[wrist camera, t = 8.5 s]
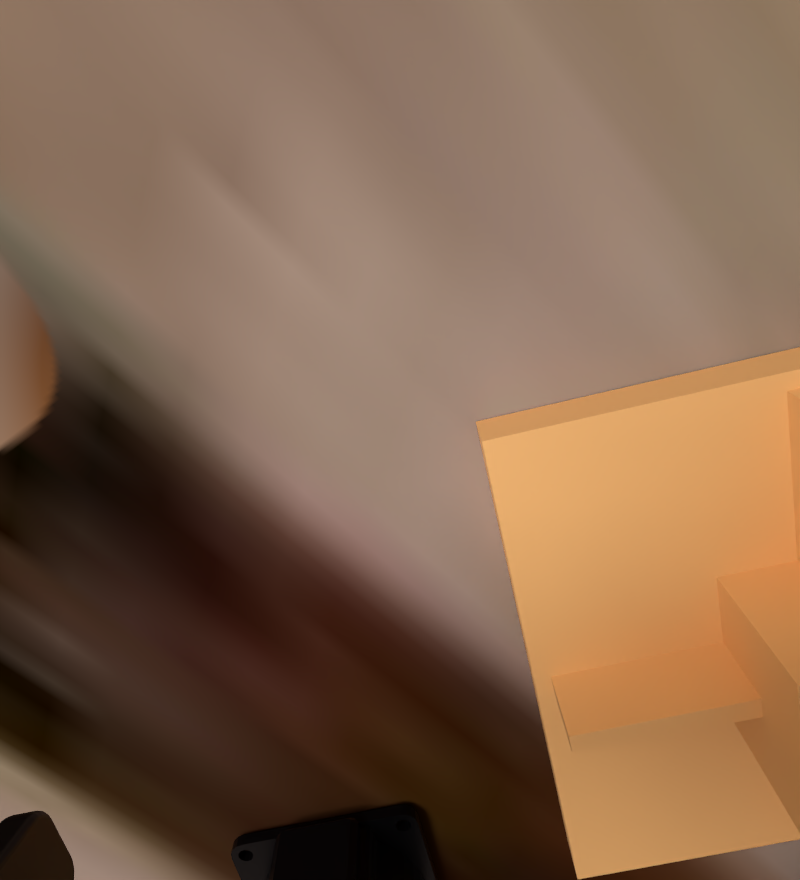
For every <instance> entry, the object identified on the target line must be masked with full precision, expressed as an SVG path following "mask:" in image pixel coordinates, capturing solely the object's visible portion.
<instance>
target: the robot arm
mask: <svg viewBox="0 0 800 880" xmlns="http://www.w3.org/2000/svg"><path fill="white" fill-rule="evenodd" d="M400 820H407V821H400ZM246 850H248V851H246ZM231 856H232V860H233V862H234V864H235V867H236V869H237V871H238V873H239V876H240V878H241V880H438V877H437V874H436V871H435V868H434V864H433V861H432V858H431V855H430V852H429V848H428V845H427V842H426V839H425V835H424V832H423V829H422V826H421V823H420V819H419V816H418V813H417V811H416V810H415V809H414V808H413V807H411V806H408V805H397V806H392V807H387V808H381V809H376V810H371V811H366V812H361V813H355V814H350V815H345V816H340V817H335V818H329V819H324V820H319V821H314V822H309V823H303V824H298V825H293V826H288V827H283V828H277V829H272V830H267V831H262V832H257V833H251V834H246V835H242V836H239V837H238V838H237V839H236V840H235V841H234V844H233V848H232V852H231ZM0 880H74V866H73V861H72V858H71V856H70V854H69V852H68V850H67V848H66V846H65V844H64V842H63V840H62V839H61V837H60V835H59V833H58V831H57V829H56V827H55V825H54V823H53V821H52V819H51V818H50V816H49V815H48V814H46V813H45V812H43V811H33V812H28V813H23V814H17V815H13V816H10V817H8V818H6V819H4V820H3V821H2V822H1V823H0Z"/></svg>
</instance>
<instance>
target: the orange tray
mask: <svg viewBox="0 0 800 880" xmlns="http://www.w3.org/2000/svg"><path fill="white" fill-rule="evenodd" d="M476 425H477V430H478V434H479V439H480V443H481V448H482V452H483V457H484V461H485V466H486V471H487V475H488V480H489V484H490V489H491V493H492V498H493V502H494V507H495V512H496V516H497V521H498V525H499V530H500V534H501V539H502V543H503V548H504V553H505V557H506V562H507V566H508V571H509V575H510V580H511V584H512V589H513V593H514V598H515V603H516V607H517V612H518V616H519V621H520V625H521V630H522V634H523V639H524V644H525V648H526V653H527V657H528V662H529V666H530V671H531V675H532V680H533V685H534V689H535V694H536V698H537V703H538V707H539V712H540V716H541V721H542V725H543V730H544V735H545V739H546V744H547V748H548V753H549V757H550V762H551V766H552V771H553V776H554V780H555V785H556V789H557V794H558V798H559V803H560V807H561V812H562V817H563V821H564V826H565V830H566V835H567V839H568V843H569V847H570V851H571V855H572V859H573V863H574V867H575V871H576V875H577V879H583V878H589V877H594V876H600V875H605V874H611V873H616V872H622V871H627V870H633V869H638V868H644V867H649V866H655V865H660V864H666V863H671V862H677V861H682V860H688V859H693V858H699V857H705V856H710V855H716V854H721V853H727V852H732V851H738V850H743V849H749V848H754V847H760V846H765V845H771V844H776V843H782V842H787V841H793V840H798V839H800V347H798V348H794V349H789V350H785V351H781V352H776V353H772V354H768V355H763V356H759V357H755V358H750V359H746V360H742V361H737V362H733V363H729V364H724V365H720V366H716V367H711V368H707V369H703V370H698V371H694V372H690V373H685V374H681V375H677V376H672V377H668V378H663V379H659V380H655V381H650V382H646V383H642V384H637V385H633V386H629V387H624V388H620V389H616V390H611V391H607V392H603V393H598V394H594V395H590V396H585V397H581V398H577V399H572V400H568V401H564V402H559V403H555V404H551V405H546V406H542V407H537V408H533V409H529V410H524V411H520V412H516V413H511V414H507V415H503V416H498V417H494V418H490V419H485V420H481V421H477V422H476Z"/></svg>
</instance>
